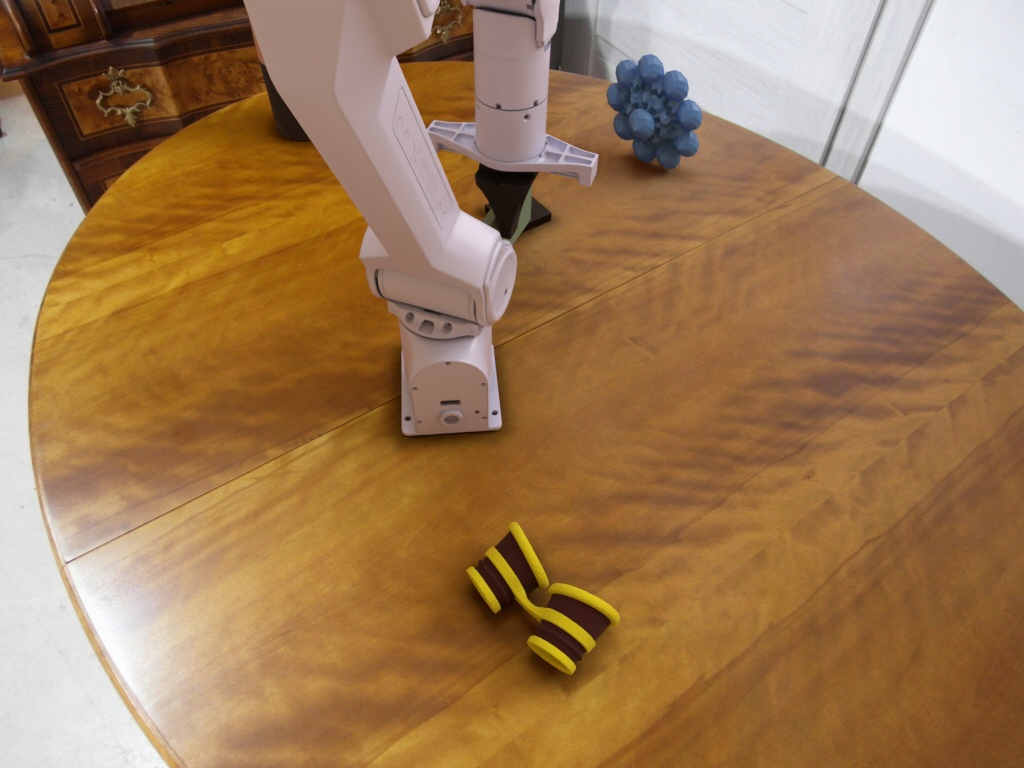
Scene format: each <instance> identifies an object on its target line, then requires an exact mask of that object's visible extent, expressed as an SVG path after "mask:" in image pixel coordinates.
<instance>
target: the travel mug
mask: <svg viewBox="0 0 1024 768" xmlns="http://www.w3.org/2000/svg"><path fill="white" fill-rule="evenodd" d="M248 19H249V24H250V28H251V29H250V30H251V32H252V38H253V42H254V46H255V51H256V55H257V58H258V59H257V60H258V62H259V67H260V71H261V74H262V78H263V83H264V85H265V86H264V87H265V89H266V93H267V96H268V101H269V104H270V108H271V111H272V116H273V119H274V123H275V126H276V129H277V130H278V132H279V134H280V135H281V136H283V137H284V138H286V139H289V140H293V141H300V142H301V141H302V142H304V141H306V142H307V141H311V140H310V138H309V137H308V136H307V134H306V133H305V131H304V130H303V128H302V127H301V125H300V124H299V122H298V121H297V119H296V118H295V116H294V115H293V113H292V112H291V111H290V109H289V108H288V106H287V105H286V103H285V102H284V100H283V99H282V97H281V96H280V94H279V93H278V91H277V90H276V88H275V86H274V84H273V82H272V80H271V78H270V76H269V73H268V71H267V68H266V65H265V62H264V59H263V56H262V53H261V51H260V48H259V45H258V42H257V39H256V36H255V33H254V30H253V27H252V24H251V21H250V18H249V17H248Z"/></svg>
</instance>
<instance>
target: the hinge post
mask: <svg viewBox="0 0 1024 768" xmlns="http://www.w3.org/2000/svg"><path fill="white" fill-rule="evenodd" d="M490 210H491V206H490V204H489V202H488V203H486V204H484V213H485V214H486V215H487V214H488V212H489V211H490ZM550 221H552V212H551V211H550V210H549V209H548V208H546V207H545V206H544V204H542V203H541V202H539V201H538V200H537V199H536V198H535V197H534V196H532V198H531V220H530V221H529V222H528V224H527V225H526V227H525V228H524V230H523V231H522V232H521V234H523V233H525V232H527V231H529V230H532V229H535V228H537V227H539V226H541V225H543V224H546V223H548V222H550Z"/></svg>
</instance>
